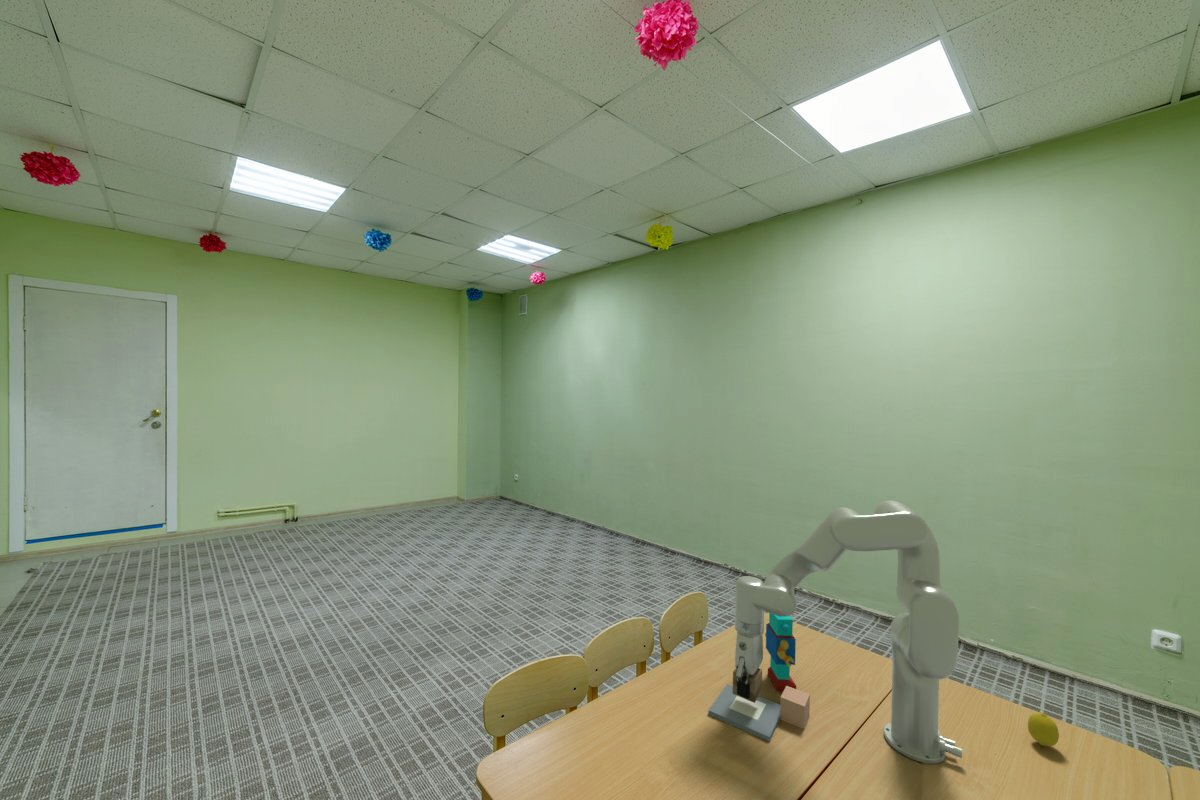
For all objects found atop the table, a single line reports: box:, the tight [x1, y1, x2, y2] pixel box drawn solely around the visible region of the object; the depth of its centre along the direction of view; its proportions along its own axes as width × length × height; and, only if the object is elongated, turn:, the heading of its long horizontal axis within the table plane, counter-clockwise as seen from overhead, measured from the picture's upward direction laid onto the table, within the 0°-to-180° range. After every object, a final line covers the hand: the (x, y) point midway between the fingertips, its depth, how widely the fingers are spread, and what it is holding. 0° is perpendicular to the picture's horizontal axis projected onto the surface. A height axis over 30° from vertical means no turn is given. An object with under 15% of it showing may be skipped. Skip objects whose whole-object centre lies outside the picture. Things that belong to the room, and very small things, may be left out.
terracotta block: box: [779, 686, 811, 730], centre depth 121 cm, size 6×6×6 cm
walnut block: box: [732, 667, 763, 703], centre depth 124 cm, size 6×6×6 cm
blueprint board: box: [707, 683, 781, 742], centre depth 123 cm, size 16×14×1 cm
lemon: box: [1027, 712, 1060, 747], centre depth 112 cm, size 6×6×8 cm
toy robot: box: [764, 612, 797, 692], centre depth 136 cm, size 12×6×25 cm, turn 179°
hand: (747, 689), depth 124 cm, fingers closed on walnut block, 6 cm apart
